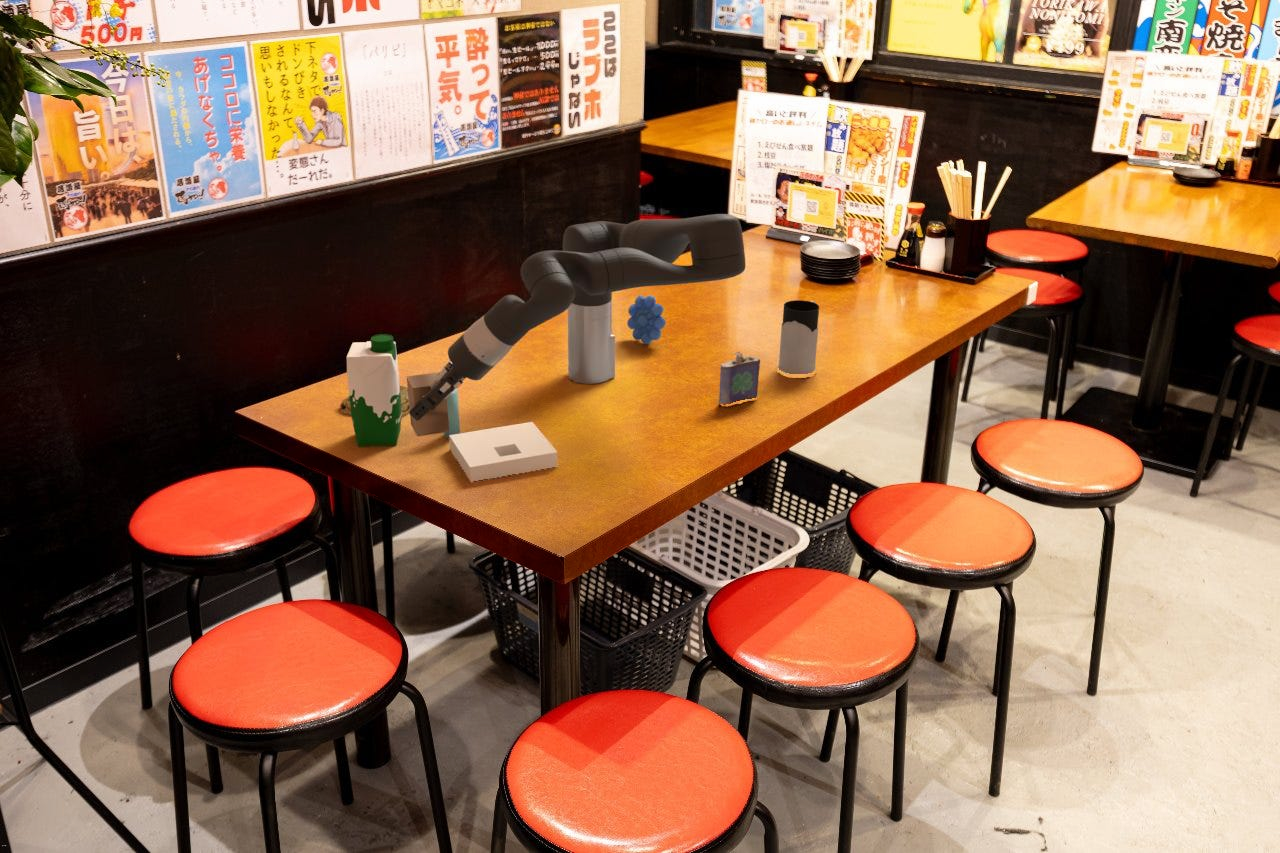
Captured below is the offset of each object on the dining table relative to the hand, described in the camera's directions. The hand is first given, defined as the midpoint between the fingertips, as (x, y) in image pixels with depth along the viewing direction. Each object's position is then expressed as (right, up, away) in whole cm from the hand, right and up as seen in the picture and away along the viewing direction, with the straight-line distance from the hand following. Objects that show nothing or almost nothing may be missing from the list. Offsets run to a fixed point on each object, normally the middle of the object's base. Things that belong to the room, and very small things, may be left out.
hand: (420, 406), depth 195 cm
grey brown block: (+1, -4, +1) cm, 4 cm away
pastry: (-13, 0, +31) cm, 33 cm away
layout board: (+13, -9, +9) cm, 19 cm away
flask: (+58, +1, +34) cm, 68 cm away
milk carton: (-11, -6, +17) cm, 21 cm away
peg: (+3, -5, +18) cm, 19 cm away
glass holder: (+73, +9, +53) cm, 91 cm away
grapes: (+40, +16, +65) cm, 78 cm away
